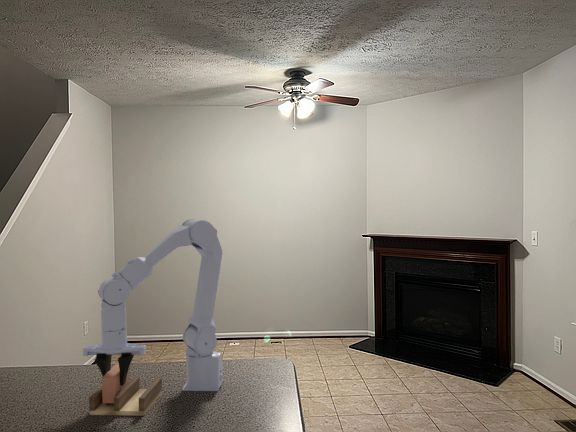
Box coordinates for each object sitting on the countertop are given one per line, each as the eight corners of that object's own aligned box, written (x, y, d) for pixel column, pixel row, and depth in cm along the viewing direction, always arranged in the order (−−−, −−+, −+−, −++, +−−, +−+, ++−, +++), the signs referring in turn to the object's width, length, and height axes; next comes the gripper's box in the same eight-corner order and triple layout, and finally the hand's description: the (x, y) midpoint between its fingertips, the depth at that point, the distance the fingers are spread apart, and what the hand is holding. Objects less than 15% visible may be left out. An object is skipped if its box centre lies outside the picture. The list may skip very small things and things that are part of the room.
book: (129, 386, 123) (128, 363, 123) (115, 402, 113) (114, 377, 113) (117, 387, 123) (116, 363, 123) (102, 403, 113) (102, 377, 113)
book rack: (162, 393, 124) (161, 377, 124) (144, 415, 111) (143, 398, 111) (113, 392, 125) (112, 377, 124) (89, 414, 112) (89, 397, 112)
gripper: (148, 323, 121) (150, 377, 122) (90, 324, 121) (92, 378, 122) (140, 331, 114) (141, 388, 115) (78, 332, 114) (80, 389, 115)
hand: (115, 384), depth 118 cm, fingers closed on book, 3 cm apart
